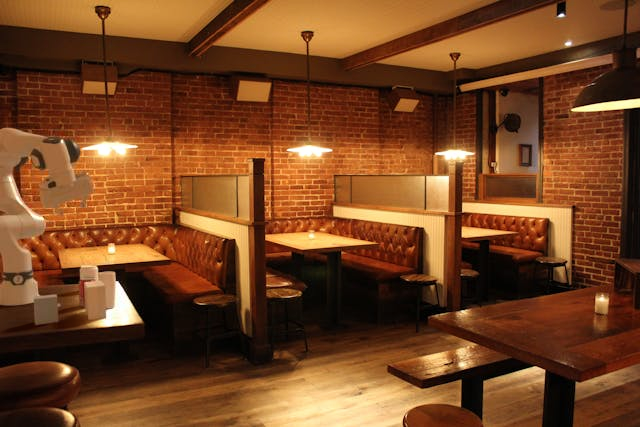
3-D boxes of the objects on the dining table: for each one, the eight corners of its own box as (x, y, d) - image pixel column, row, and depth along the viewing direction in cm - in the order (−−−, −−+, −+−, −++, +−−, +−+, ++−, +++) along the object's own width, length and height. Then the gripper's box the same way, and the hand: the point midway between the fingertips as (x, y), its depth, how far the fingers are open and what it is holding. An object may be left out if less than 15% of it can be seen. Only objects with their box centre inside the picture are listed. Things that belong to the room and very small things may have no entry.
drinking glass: (107, 305, 238) (106, 270, 237) (120, 306, 236) (118, 271, 235) (96, 308, 232) (94, 273, 231) (108, 310, 230) (107, 274, 228)
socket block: (85, 313, 225) (84, 282, 223) (102, 311, 228) (101, 280, 227) (88, 320, 215) (87, 287, 214) (106, 317, 218) (105, 285, 217)
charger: (34, 322, 213) (33, 296, 212) (60, 318, 217) (59, 294, 216) (35, 325, 209) (33, 299, 208) (61, 321, 213) (60, 296, 212)
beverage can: (102, 289, 270) (101, 264, 269) (91, 292, 262) (90, 267, 261) (87, 288, 271) (86, 264, 270) (77, 291, 264) (75, 267, 263)
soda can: (100, 303, 241) (99, 276, 240) (91, 307, 234) (90, 280, 233) (84, 303, 241) (83, 276, 240) (76, 307, 234) (74, 279, 233)
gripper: (84, 170, 226) (93, 202, 230) (34, 185, 212) (44, 218, 217) (91, 171, 222) (100, 204, 226) (40, 187, 208) (51, 220, 213)
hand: (72, 211), depth 221 cm, fingers open, 8 cm apart
